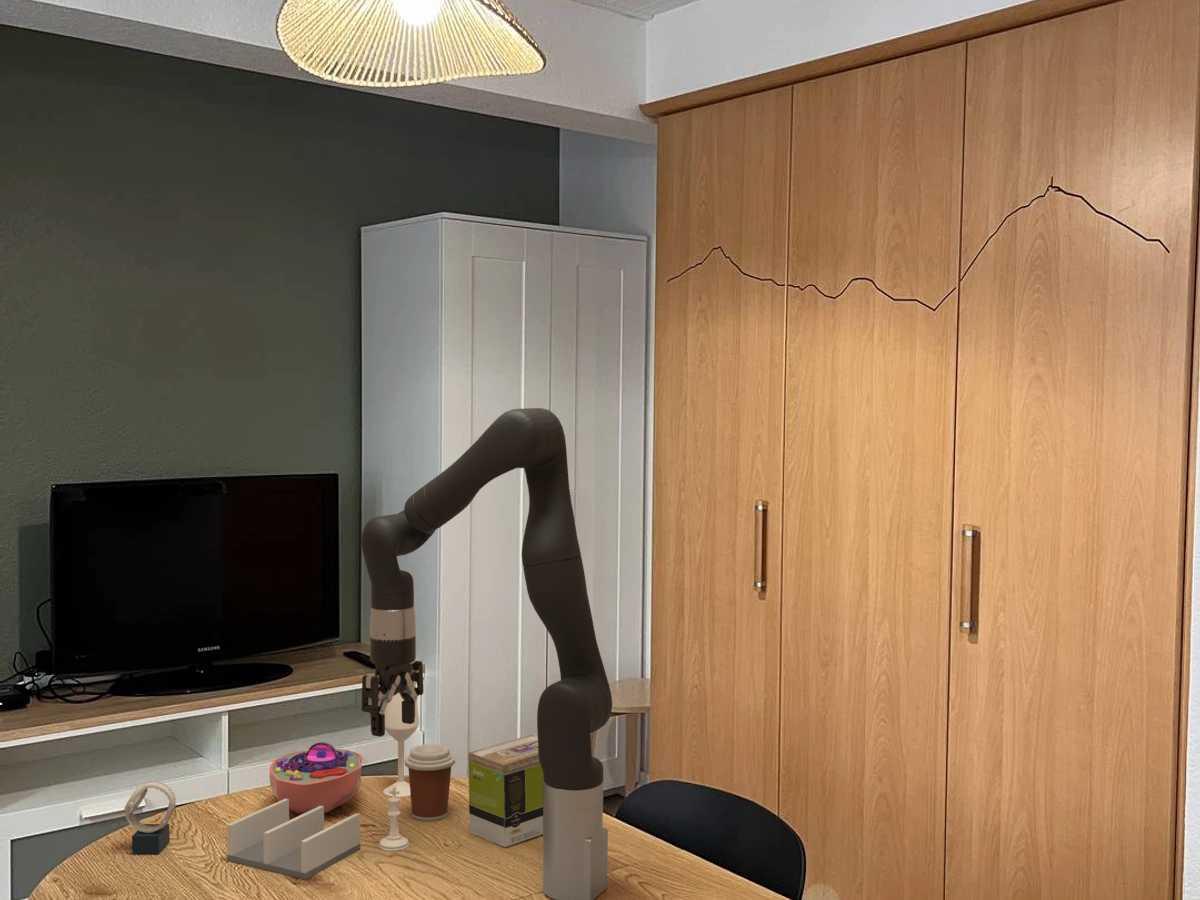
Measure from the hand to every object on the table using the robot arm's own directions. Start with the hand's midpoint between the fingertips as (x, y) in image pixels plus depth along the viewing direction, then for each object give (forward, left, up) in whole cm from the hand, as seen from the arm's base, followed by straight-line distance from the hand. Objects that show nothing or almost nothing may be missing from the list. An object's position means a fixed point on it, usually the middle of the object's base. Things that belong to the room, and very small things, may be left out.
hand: (393, 729), depth 205 cm
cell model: (+23, -8, -20) cm, 32 cm away
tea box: (-15, -16, -20) cm, 30 cm away
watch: (+35, +20, -20) cm, 45 cm away
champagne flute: (+15, -23, -20) cm, 34 cm away
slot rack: (+12, +11, -20) cm, 26 cm away
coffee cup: (+3, -15, -20) cm, 25 cm away
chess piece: (0, 0, -20) cm, 20 cm away
